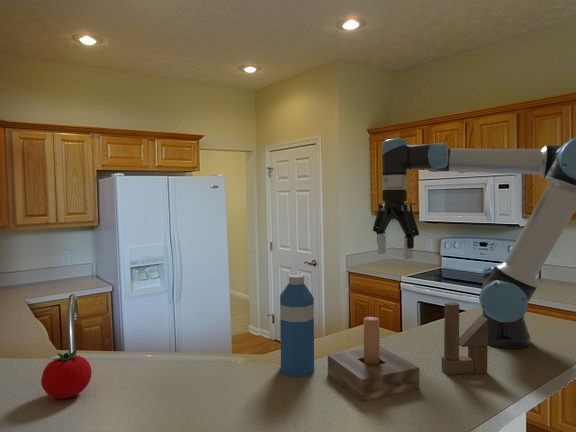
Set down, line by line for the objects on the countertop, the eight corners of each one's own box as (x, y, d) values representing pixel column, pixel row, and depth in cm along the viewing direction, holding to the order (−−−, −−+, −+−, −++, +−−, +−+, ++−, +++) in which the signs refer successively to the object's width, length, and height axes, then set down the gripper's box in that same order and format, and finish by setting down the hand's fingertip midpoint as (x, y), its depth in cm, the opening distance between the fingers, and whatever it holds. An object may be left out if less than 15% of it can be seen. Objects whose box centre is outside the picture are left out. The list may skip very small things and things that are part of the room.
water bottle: (318, 364, 114) (318, 273, 113) (309, 378, 106) (308, 280, 104) (286, 360, 117) (285, 272, 116) (274, 374, 109) (273, 278, 108)
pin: (373, 370, 106) (373, 316, 106) (382, 376, 103) (382, 320, 102) (360, 373, 105) (360, 318, 104) (369, 379, 101) (369, 322, 101)
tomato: (58, 385, 103) (57, 345, 103) (100, 385, 103) (99, 345, 102) (31, 406, 93) (29, 362, 92) (77, 407, 92) (76, 362, 92)
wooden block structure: (487, 373, 108) (488, 304, 107) (447, 375, 107) (447, 305, 106) (480, 367, 111) (480, 300, 110) (441, 369, 110) (441, 301, 110)
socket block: (379, 363, 114) (379, 345, 114) (419, 388, 100) (419, 367, 99) (327, 373, 108) (327, 354, 108) (361, 401, 93) (361, 379, 93)
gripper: (362, 190, 142) (362, 252, 143) (410, 188, 119) (410, 262, 120) (380, 189, 145) (381, 250, 146) (431, 188, 122) (431, 260, 123)
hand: (394, 256), depth 133 cm, fingers open, 13 cm apart
